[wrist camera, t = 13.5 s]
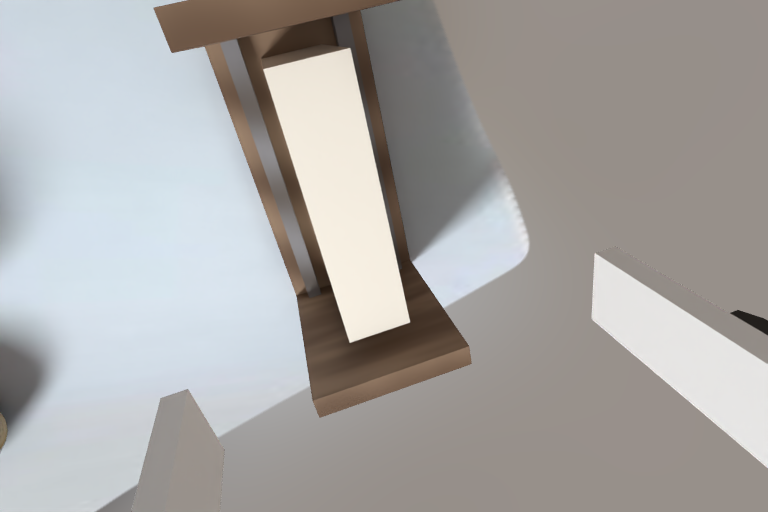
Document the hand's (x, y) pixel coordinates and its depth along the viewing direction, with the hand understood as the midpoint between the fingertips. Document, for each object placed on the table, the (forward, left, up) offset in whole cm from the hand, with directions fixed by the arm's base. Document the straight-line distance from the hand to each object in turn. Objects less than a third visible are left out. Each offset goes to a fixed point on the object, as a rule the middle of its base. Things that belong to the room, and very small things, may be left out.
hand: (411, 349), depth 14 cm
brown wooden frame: (0, 0, -23) cm, 23 cm away
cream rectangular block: (0, 0, -21) cm, 21 cm away
